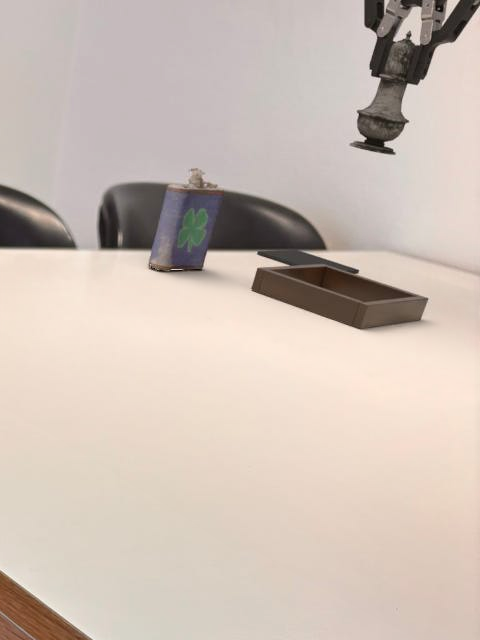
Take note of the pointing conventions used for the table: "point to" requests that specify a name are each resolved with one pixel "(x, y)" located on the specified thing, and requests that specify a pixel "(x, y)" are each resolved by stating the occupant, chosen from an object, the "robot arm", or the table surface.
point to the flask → (186, 224)
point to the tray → (339, 295)
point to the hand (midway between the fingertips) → (394, 79)
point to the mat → (302, 259)
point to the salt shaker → (387, 101)
